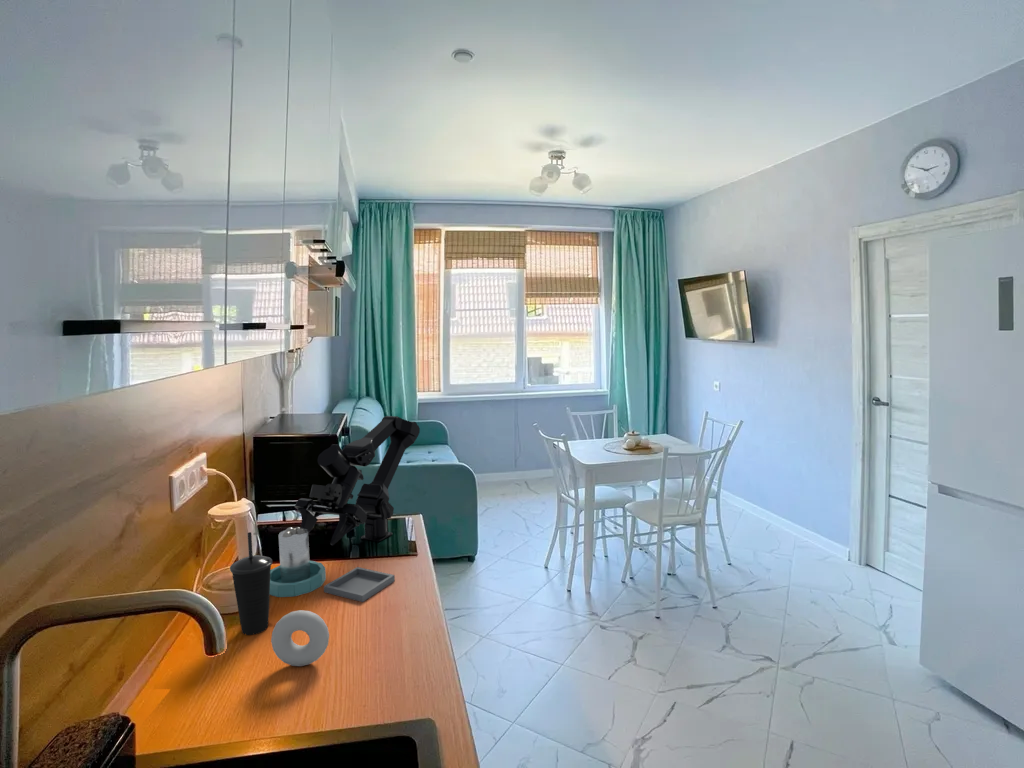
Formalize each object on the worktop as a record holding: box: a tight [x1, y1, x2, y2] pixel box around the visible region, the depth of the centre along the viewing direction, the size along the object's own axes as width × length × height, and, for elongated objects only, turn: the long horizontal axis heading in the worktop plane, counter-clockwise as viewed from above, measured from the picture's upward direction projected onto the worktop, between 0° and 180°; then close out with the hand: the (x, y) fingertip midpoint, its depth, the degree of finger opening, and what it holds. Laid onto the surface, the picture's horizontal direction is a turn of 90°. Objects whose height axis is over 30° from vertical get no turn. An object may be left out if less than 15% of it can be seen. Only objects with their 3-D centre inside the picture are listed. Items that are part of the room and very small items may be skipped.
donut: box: [270, 609, 330, 667], centre depth 98 cm, size 10×3×10 cm, turn 94°
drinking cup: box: [229, 532, 273, 636], centre depth 110 cm, size 8×8×20 cm
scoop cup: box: [278, 526, 311, 583], centre depth 129 cm, size 6×6×13 cm
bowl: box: [269, 560, 327, 598], centre depth 129 cm, size 13×13×4 cm
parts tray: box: [323, 566, 396, 603], centre depth 127 cm, size 11×11×2 cm
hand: (316, 542), depth 136 cm, fingers open, 9 cm apart
